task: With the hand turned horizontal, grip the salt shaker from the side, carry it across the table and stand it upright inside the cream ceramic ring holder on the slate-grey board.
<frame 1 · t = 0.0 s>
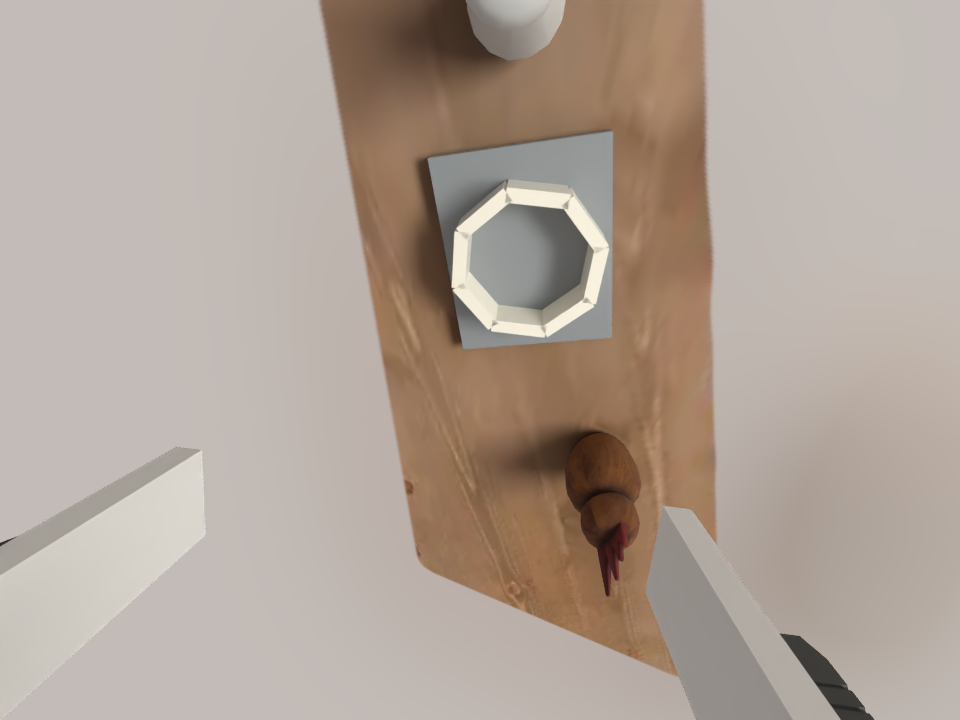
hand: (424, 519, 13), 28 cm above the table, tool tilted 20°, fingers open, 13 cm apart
ring holder: (527, 261, 35), on the slate board, point 3 cm above the table
slate board: (527, 250, 37), on the table
salt shaker: (517, 7, 29), on the table
wooden figurine: (596, 445, 47), on the table
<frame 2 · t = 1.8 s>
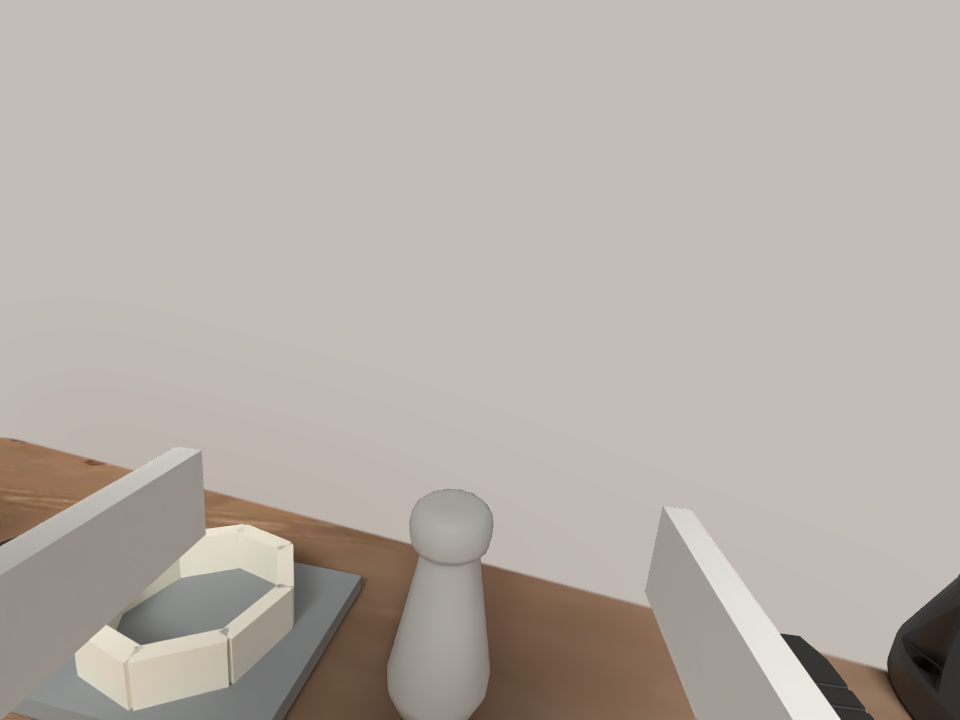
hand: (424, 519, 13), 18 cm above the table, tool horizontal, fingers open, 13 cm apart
ring holder: (199, 599, 29), on the slate board, point 3 cm above the table
slate board: (201, 635, 29), on the table
salt shaker: (435, 706, 26), on the table
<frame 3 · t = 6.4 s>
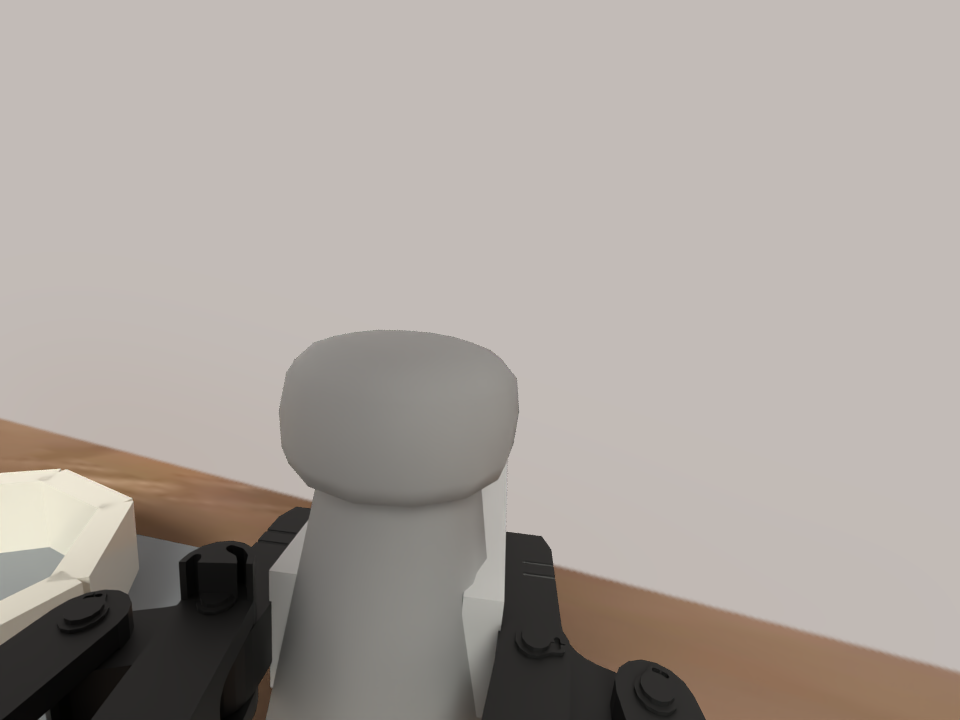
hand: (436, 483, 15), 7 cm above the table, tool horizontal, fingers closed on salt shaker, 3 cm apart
when the fingers open (10 cm above the table, at t = 10.8 s): salt shaker stays where it is, resting on slate board.
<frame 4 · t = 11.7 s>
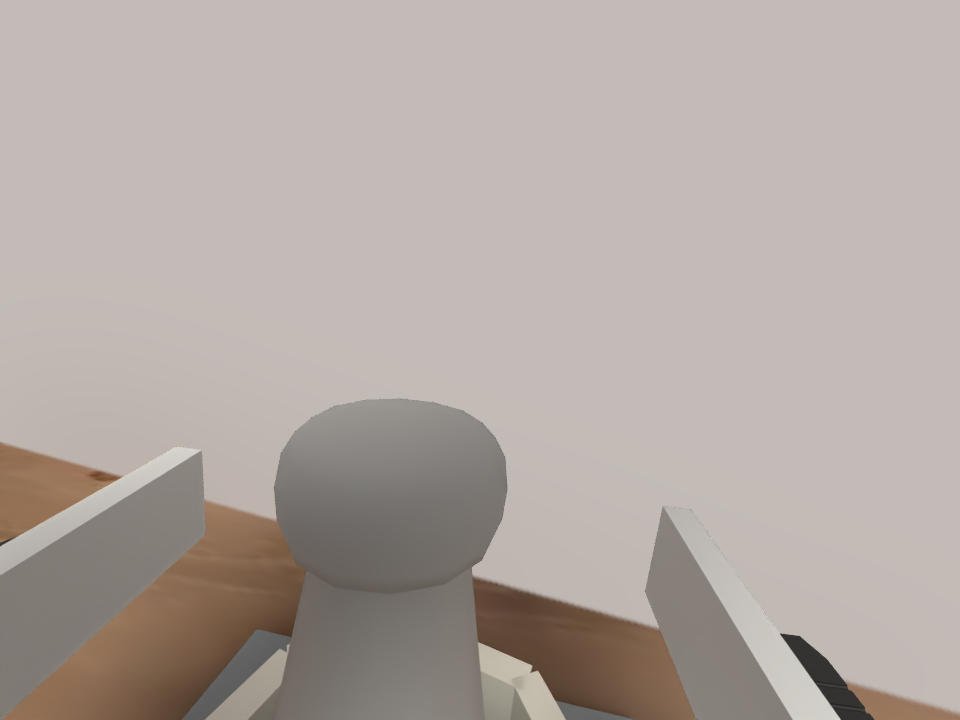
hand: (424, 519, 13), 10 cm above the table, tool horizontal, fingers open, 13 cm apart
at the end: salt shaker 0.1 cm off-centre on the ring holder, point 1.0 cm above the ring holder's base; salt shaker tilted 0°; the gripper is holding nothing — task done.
